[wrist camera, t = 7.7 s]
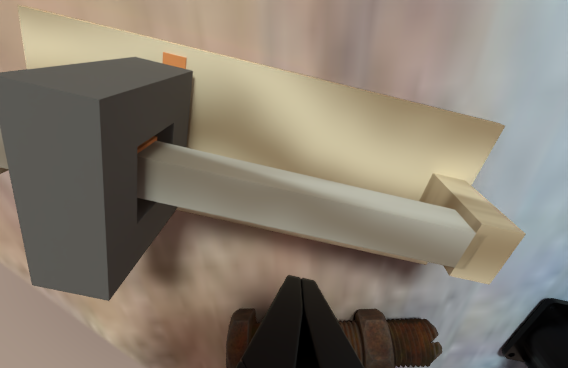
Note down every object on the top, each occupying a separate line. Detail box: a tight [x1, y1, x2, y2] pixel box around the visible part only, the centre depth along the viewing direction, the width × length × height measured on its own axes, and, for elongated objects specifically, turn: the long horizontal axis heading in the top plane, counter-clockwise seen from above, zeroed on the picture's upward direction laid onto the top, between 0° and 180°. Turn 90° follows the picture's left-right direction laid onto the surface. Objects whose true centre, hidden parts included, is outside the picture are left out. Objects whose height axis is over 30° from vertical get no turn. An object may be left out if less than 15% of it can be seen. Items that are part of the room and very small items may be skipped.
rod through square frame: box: [0, 5, 525, 284], centre depth 16 cm, size 10×26×6 cm, turn 77°
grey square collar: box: [0, 57, 193, 301], centre depth 14 cm, size 8×3×8 cm, turn 167°
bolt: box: [226, 308, 442, 368], centre depth 23 cm, size 6×5×15 cm
